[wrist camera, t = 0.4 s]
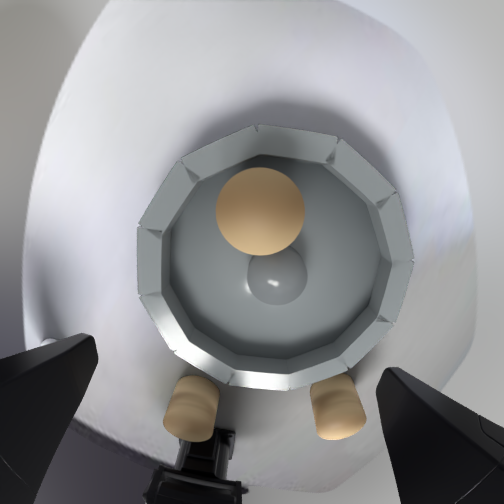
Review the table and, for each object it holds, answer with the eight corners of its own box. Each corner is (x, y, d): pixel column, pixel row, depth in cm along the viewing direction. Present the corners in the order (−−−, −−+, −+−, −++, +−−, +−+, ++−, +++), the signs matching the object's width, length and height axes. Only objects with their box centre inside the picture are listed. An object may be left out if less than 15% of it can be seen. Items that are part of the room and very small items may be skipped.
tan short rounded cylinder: (288, 238, 19) (297, 260, 14) (224, 230, 19) (212, 249, 14) (297, 174, 18) (310, 174, 13) (231, 166, 18) (220, 162, 13)
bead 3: (345, 403, 24) (356, 438, 20) (305, 403, 24) (311, 440, 20) (359, 372, 23) (373, 408, 18) (316, 372, 23) (325, 410, 18)
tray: (358, 370, 23) (367, 391, 20) (155, 349, 23) (144, 369, 20) (411, 162, 18) (431, 162, 15) (161, 125, 18) (146, 119, 15)
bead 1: (218, 408, 25) (212, 445, 20) (177, 401, 25) (165, 436, 20) (220, 379, 24) (213, 418, 19) (175, 371, 24) (160, 407, 19)
